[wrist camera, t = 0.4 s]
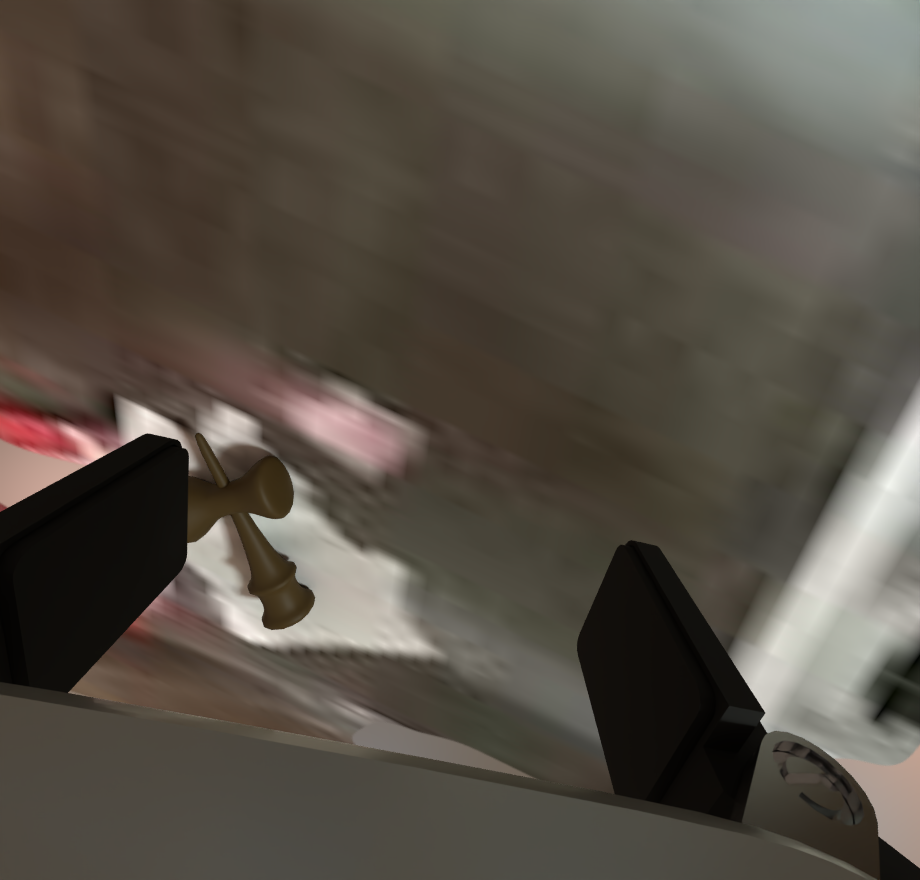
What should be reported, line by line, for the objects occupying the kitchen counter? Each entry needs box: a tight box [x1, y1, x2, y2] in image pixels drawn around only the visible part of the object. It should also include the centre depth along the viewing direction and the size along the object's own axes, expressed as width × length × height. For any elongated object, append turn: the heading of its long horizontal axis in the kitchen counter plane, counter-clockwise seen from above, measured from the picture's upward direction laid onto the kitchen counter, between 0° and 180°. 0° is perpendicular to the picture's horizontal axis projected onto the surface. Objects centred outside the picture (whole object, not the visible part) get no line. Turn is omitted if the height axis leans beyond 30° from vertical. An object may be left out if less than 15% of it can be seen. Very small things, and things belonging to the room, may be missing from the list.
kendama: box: [187, 433, 315, 630], centre depth 42 cm, size 6×10×20 cm
